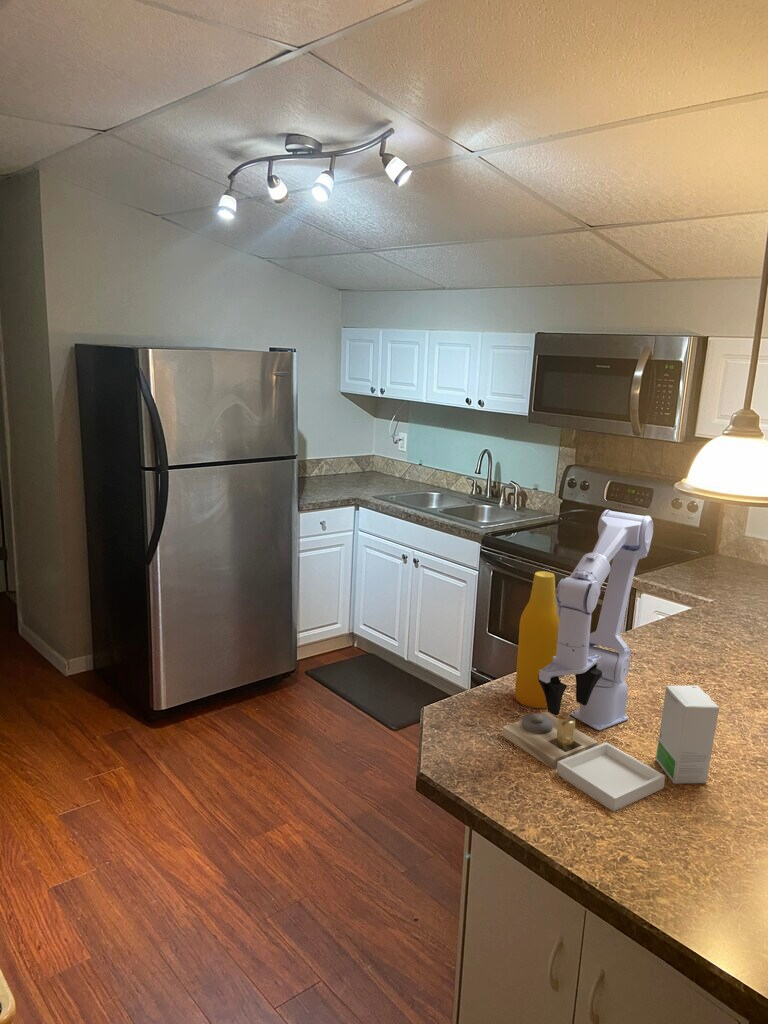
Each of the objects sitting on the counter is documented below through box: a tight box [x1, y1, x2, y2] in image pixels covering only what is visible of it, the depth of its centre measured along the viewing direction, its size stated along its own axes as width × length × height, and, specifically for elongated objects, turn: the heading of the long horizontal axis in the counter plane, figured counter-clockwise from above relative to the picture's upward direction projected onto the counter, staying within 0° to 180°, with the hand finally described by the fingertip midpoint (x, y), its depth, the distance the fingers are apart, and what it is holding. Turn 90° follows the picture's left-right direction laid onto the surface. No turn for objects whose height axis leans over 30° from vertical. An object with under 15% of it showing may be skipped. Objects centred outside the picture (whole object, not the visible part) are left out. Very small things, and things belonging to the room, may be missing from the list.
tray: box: [556, 741, 666, 813], centre depth 134 cm, size 13×13×2 cm
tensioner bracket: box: [501, 711, 599, 770], centre depth 146 cm, size 12×14×4 cm
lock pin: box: [556, 715, 576, 752], centre depth 143 cm, size 3×3×7 cm
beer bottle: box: [514, 570, 559, 709], centre depth 161 cm, size 9×9×29 cm
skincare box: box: [655, 685, 720, 785], centre depth 136 cm, size 8×7×16 cm
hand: (567, 708), depth 141 cm, fingers open, 7 cm apart
